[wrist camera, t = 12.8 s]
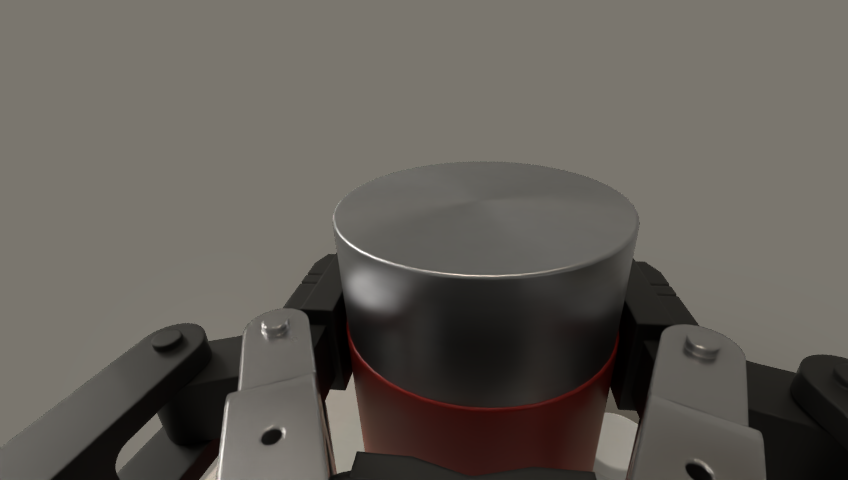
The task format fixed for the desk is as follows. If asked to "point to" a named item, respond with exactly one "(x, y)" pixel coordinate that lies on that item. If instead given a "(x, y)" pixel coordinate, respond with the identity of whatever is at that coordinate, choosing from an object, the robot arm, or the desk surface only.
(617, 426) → the pill bottle
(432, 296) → the can
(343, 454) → the desk surface
